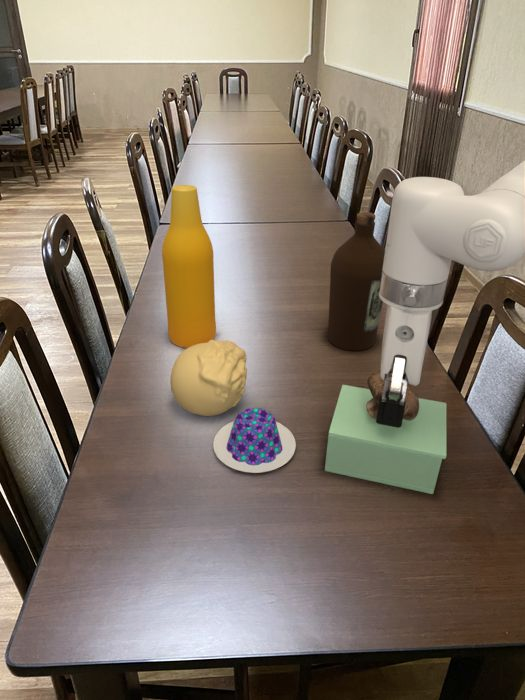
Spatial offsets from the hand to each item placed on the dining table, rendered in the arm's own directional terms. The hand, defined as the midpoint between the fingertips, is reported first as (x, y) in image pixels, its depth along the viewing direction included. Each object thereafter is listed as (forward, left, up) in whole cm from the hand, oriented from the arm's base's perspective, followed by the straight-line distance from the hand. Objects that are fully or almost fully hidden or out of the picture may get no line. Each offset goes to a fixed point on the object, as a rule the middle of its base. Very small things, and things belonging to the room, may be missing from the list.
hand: (391, 404), depth 73 cm
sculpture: (+28, -4, -9) cm, 30 cm away
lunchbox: (0, 0, -9) cm, 9 cm away
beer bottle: (+39, -23, -9) cm, 46 cm away
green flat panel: (0, 0, -3) cm, 3 cm away
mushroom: (0, 0, -2) cm, 2 cm away
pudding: (+18, +4, -9) cm, 21 cm away
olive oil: (+9, -32, -9) cm, 35 cm away
